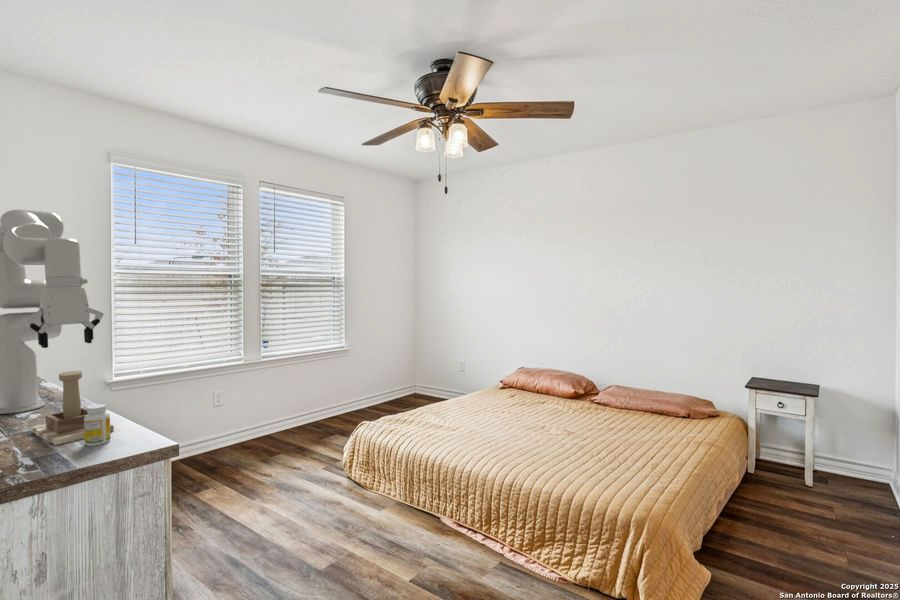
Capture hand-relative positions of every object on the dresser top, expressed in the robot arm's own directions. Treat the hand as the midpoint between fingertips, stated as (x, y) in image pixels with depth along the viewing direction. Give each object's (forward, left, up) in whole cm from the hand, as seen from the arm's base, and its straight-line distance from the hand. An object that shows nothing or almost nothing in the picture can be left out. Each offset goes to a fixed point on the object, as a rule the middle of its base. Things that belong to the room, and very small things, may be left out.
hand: (67, 345), depth 127 cm
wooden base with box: (+1, 0, -24) cm, 24 cm away
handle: (+1, 0, -23) cm, 23 cm away
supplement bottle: (+17, +1, -25) cm, 30 cm away
